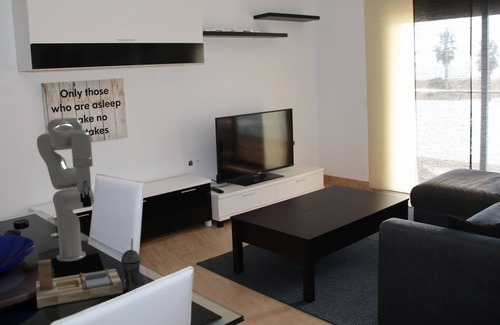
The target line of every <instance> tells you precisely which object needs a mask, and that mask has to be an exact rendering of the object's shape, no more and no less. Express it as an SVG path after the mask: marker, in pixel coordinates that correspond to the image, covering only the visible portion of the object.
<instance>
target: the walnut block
mask: <svg viewBox="0 0 500 325" xmlns="http://www.w3.org/2000/svg"><path fill="white" fill-rule="evenodd" d="M37 273H38V281H39V283H40V291H42V290H48V289H53V280H52V279H53V271H52V260H51V259H44V260H38V261H37Z"/></svg>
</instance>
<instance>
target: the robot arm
mask: <svg viewBox="0 0 500 325" xmlns="http://www.w3.org/2000/svg"><path fill="white" fill-rule="evenodd" d="M46 128H47V132H45V133H42V134H40V135H39V136H37V138H36V147H37V150H38V152H39V155H40V157H41V159H42V160H43V161H44V163H45V165H46V168H47V170H48V171H47V172H48V176H49V180H50V183H51V185H52V187H53V188H54V190H56V192H55V193H54V194H53V197H52V202H53V206H54V210H55V214H56V224H57V235H58V237H57V238H58V247H59V254H57V255H56V260H57V261H59V262H65V263H66V262H68V263H69V262H74V261H78V260H82V259H83V258H85V257H86V255H87V254H86V252H85V251H83V250H82V237H81V235H82V234H81V223H80V218H79V216H78V215H77V214H76V213H74V210H81V209H85V208H91V207H92V206H93V205H94V202H95V195H94V193H93V189H92V178H91V167H93V166H94V164H93V163H94V162H93V152H92V149H93V148H92V137H91V134H90V132H88V131H87V130H85V129H83V124H82V122H81V121H80V119H78V118H76V117H66V118H65V117H63V118H62V117H61V118H55V119H52V120H50V121H49V122H48V124H47V127H46ZM65 150H71V157H72V167H68V165H67V161H66V159H65V158H64V157H63V156H62V155H60V153H58V152H56V151H65ZM57 190H58V191H57Z"/></svg>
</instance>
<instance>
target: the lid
mask: <svg viewBox="0 0 500 325" xmlns="http://www.w3.org/2000/svg"><path fill="white" fill-rule="evenodd" d="M103 271H104V272H98V271H97V272H98V273H92V272H91V273H92V274H86V273H85V274H86V275H85V283H86V287H87V288H93V287H99V286H105V285H110V280H109V278H108V275H107V272H106V271H105V270H103Z"/></svg>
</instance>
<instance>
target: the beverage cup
mask: <svg viewBox="0 0 500 325" xmlns="http://www.w3.org/2000/svg"><path fill="white" fill-rule="evenodd" d="M130 245H131V246H130V249H129V250H126V251H124V253H123V254H122V256H121V260H120V261H121V266H122V269H123V274H124V275H123V276H124V282H125V288H126V291H128V292H132V291H131V290H133V289H135V288H138V287H139V288H140V265H141V257H140V255H139V253H138V251H136V250H134V249H133V247H134V246H133V245H134V238H131V244H130Z"/></svg>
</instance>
